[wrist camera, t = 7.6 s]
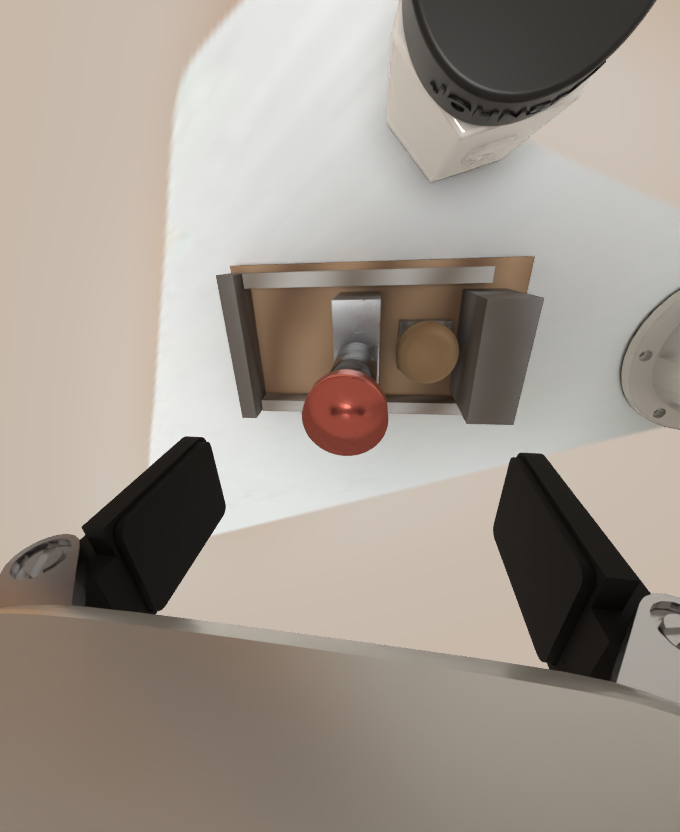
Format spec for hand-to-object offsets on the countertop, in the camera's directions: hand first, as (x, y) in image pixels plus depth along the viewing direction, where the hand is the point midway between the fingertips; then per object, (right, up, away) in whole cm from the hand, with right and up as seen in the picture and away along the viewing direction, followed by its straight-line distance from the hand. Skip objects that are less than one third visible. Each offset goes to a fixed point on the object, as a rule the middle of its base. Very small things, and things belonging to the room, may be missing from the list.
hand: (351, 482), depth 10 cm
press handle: (+1, +8, +16) cm, 18 cm away
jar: (+7, +22, +10) cm, 25 cm away
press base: (+2, +9, +17) cm, 19 cm away
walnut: (+6, +7, +13) cm, 16 cm away
